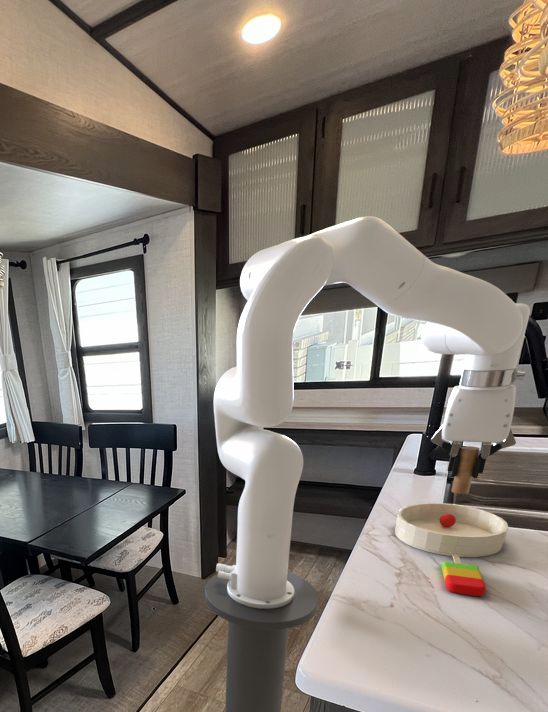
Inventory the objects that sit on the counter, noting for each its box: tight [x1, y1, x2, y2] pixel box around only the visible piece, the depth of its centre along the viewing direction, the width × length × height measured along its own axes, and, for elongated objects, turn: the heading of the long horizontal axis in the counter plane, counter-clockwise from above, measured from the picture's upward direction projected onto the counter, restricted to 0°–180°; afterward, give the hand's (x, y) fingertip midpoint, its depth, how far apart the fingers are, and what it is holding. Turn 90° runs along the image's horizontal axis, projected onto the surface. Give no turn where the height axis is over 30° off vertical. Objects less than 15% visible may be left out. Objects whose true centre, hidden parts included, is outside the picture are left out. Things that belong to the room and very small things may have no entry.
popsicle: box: [441, 554, 487, 597], centre depth 88 cm, size 6×15×2 cm, turn 152°
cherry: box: [439, 514, 456, 527], centre depth 105 cm, size 3×3×3 cm
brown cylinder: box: [451, 445, 480, 495], centre depth 92 cm, size 3×3×9 cm
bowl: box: [394, 502, 509, 558], centre depth 102 cm, size 19×19×4 cm
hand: (463, 474), depth 93 cm, fingers closed on brown cylinder, 2 cm apart
